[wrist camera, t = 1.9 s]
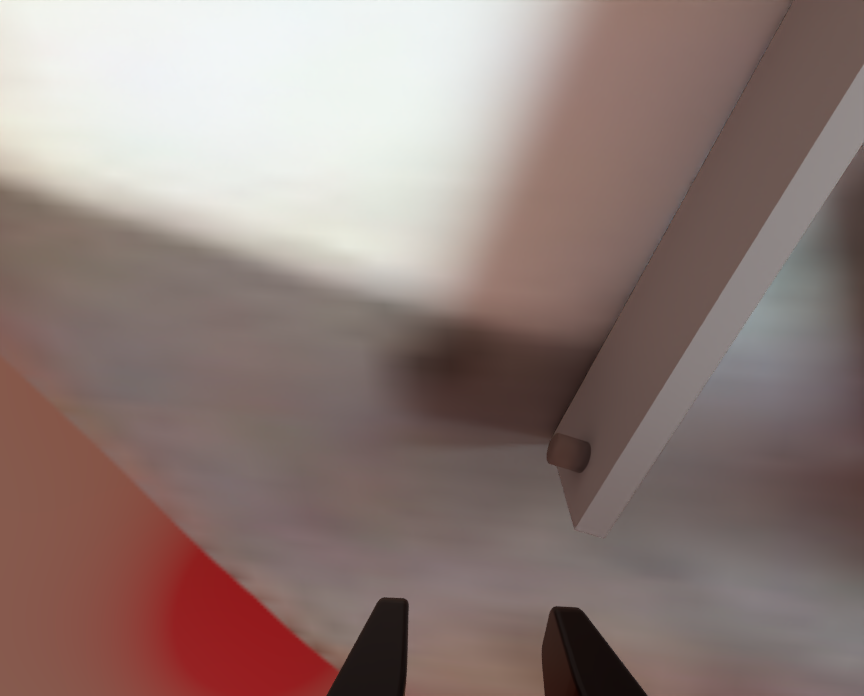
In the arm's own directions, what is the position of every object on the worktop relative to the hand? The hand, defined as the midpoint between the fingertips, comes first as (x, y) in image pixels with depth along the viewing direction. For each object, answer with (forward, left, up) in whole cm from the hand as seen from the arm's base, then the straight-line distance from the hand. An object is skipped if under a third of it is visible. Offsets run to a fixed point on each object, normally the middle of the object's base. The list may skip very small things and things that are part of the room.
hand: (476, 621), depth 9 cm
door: (0, -8, -13) cm, 15 cm away
